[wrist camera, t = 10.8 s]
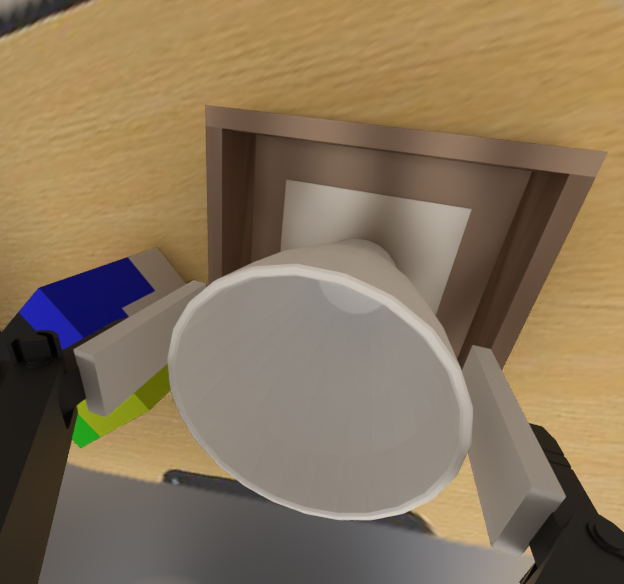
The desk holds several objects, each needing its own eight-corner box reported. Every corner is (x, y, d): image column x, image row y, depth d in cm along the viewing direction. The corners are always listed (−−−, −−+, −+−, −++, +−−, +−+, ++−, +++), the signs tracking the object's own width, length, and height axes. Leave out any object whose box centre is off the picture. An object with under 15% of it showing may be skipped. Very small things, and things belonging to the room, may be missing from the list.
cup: (419, 185, 19) (449, 225, 7) (442, 333, 22) (490, 537, 10) (270, 224, 22) (118, 295, 10) (308, 347, 26) (225, 509, 14)
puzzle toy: (157, 246, 27) (38, 287, 18) (227, 334, 29) (149, 410, 20) (103, 298, 31) (-15, 351, 23) (166, 371, 33) (80, 448, 24)
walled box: (240, 346, 29) (210, 379, 24) (247, 117, 21) (205, 105, 16) (449, 405, 25) (459, 456, 21) (554, 154, 17) (607, 152, 13)
